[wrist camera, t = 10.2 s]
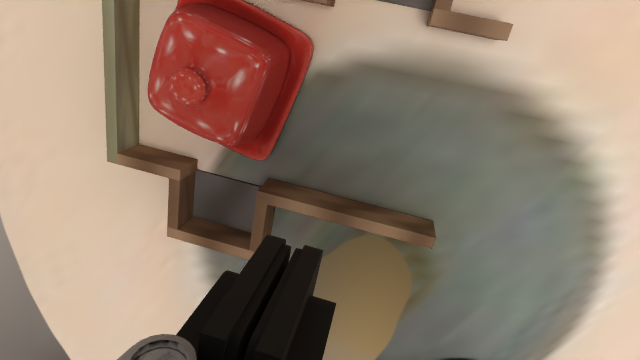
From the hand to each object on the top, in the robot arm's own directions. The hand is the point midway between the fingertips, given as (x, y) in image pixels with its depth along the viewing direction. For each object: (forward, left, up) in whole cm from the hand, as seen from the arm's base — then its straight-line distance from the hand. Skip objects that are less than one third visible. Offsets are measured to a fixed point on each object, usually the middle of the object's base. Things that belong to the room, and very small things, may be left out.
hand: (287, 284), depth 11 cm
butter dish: (+11, -1, -23) cm, 25 cm away
